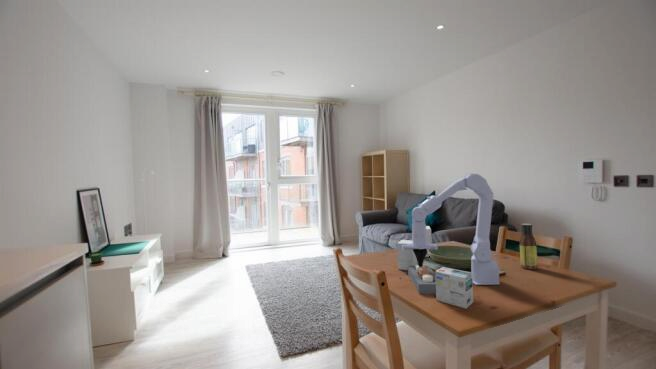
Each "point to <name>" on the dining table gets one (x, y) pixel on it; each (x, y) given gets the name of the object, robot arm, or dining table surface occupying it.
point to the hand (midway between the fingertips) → (420, 266)
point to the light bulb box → (454, 287)
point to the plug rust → (423, 271)
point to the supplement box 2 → (428, 238)
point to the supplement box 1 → (405, 255)
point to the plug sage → (419, 267)
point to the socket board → (418, 281)
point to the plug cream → (427, 278)
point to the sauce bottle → (528, 248)
